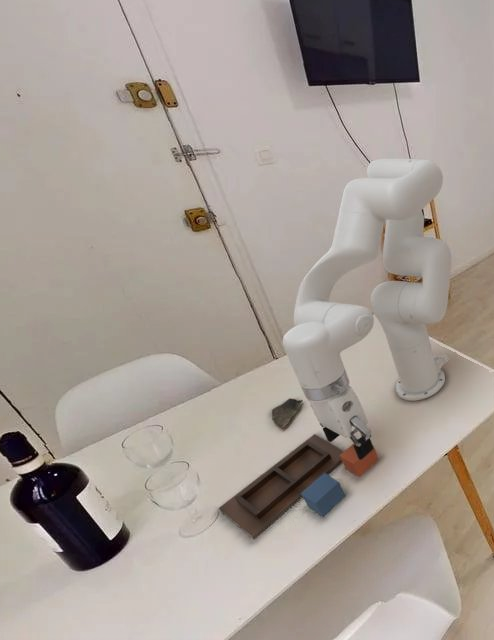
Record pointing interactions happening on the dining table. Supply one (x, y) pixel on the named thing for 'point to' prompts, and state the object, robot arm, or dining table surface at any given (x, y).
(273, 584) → the dining table surface
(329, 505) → the blue block
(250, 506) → the dark brown flat tray
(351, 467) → the orange-brown block
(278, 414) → the arrowhead
